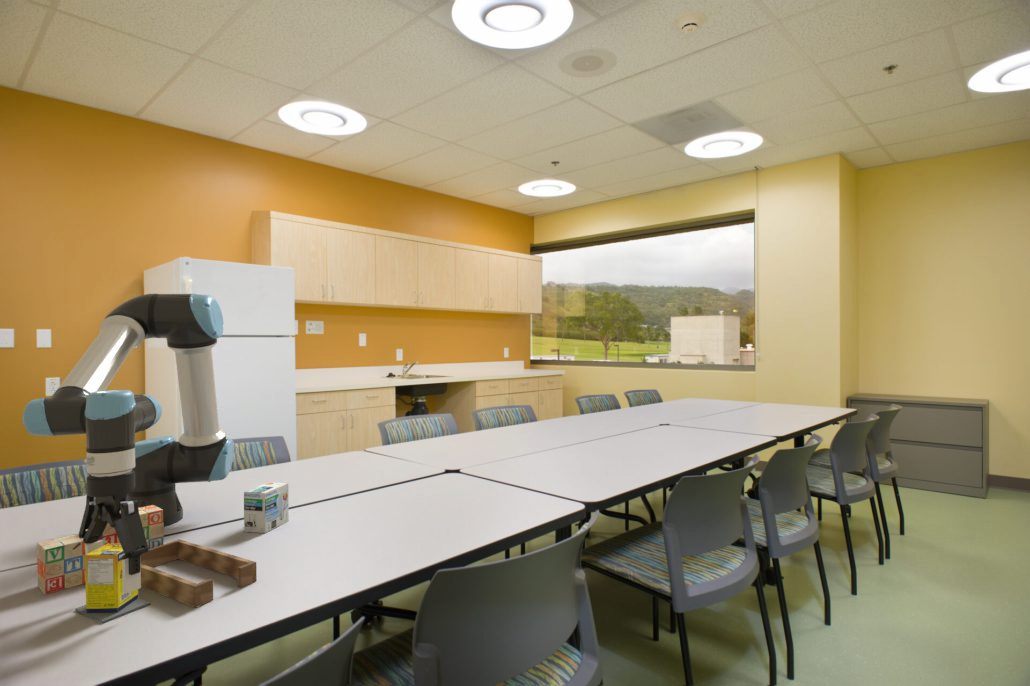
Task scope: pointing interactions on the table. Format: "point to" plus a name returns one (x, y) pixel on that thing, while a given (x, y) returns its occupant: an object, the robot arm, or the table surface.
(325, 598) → the table surface
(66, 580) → the stack of blocks
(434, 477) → the table surface
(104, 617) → the mat
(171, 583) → the open wooden frame
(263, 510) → the light bulb box
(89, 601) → the supplement box
